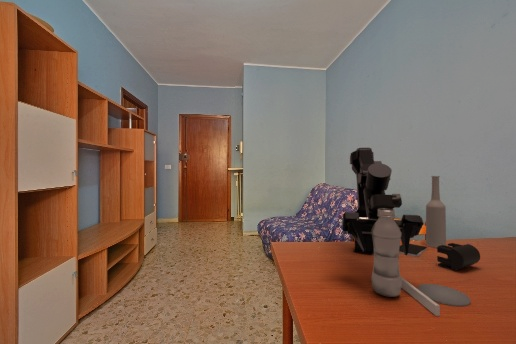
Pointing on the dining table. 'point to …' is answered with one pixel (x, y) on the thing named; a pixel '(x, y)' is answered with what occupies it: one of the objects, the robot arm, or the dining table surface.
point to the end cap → (457, 256)
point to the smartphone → (413, 250)
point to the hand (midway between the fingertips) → (385, 252)
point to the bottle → (435, 217)
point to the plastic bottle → (386, 254)
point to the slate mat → (444, 295)
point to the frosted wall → (421, 297)
